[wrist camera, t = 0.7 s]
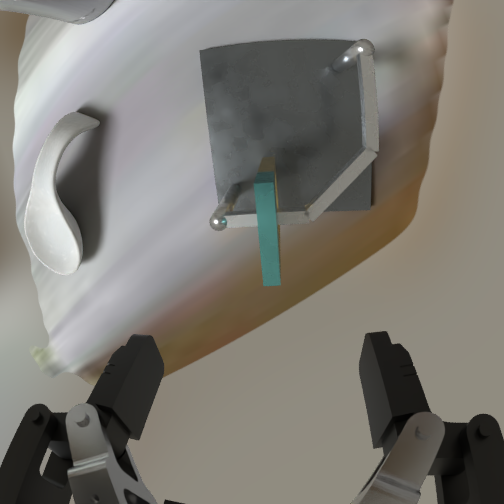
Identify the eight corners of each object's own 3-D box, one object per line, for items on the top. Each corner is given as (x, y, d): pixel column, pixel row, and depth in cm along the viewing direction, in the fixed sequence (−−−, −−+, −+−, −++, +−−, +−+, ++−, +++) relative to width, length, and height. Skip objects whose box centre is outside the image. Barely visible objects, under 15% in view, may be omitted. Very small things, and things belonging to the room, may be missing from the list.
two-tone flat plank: (262, 157, 27) (253, 183, 17) (274, 156, 27) (273, 182, 17) (268, 228, 30) (263, 286, 21) (279, 227, 30) (280, 285, 20)
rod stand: (201, 52, 25) (167, 28, 15) (360, 44, 23) (396, 18, 13) (222, 214, 33) (200, 257, 24) (367, 207, 31) (401, 247, 22)
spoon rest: (89, 276, 40) (65, 302, 34) (37, 245, 38) (11, 266, 32) (123, 127, 29) (89, 134, 23) (58, 104, 28) (22, 109, 21)
